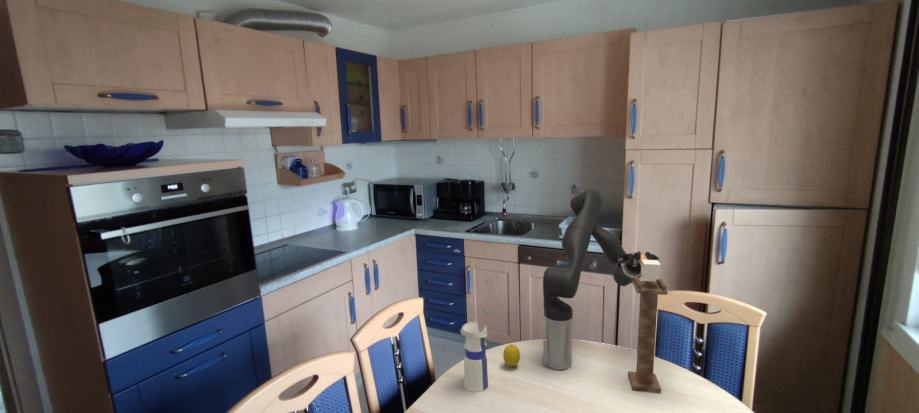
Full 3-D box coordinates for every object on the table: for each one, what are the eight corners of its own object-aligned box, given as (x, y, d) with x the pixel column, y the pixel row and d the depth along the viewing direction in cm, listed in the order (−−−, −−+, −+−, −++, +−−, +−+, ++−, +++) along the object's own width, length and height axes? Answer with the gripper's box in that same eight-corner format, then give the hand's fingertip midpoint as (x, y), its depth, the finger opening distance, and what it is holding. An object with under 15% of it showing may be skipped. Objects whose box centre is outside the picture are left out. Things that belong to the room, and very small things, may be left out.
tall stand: (632, 390, 128) (637, 285, 122) (628, 375, 136) (632, 275, 130) (660, 393, 126) (667, 286, 120) (654, 378, 134) (661, 277, 128)
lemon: (519, 362, 145) (519, 340, 144) (520, 371, 140) (520, 349, 138) (503, 361, 146) (503, 340, 144) (503, 370, 140) (503, 348, 139)
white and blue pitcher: (471, 373, 139) (469, 301, 135) (494, 381, 134) (493, 307, 130) (457, 386, 133) (454, 311, 128) (480, 395, 128) (478, 317, 123)
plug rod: (643, 278, 123) (644, 264, 122) (633, 259, 139) (634, 247, 138) (659, 279, 122) (660, 264, 121) (648, 260, 138) (649, 247, 137)
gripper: (613, 254, 153) (620, 242, 137) (655, 256, 150) (666, 243, 134) (614, 275, 150) (621, 265, 134) (656, 277, 147) (668, 267, 131)
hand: (643, 254), depth 134 cm, fingers closed on plug rod, 2 cm apart
